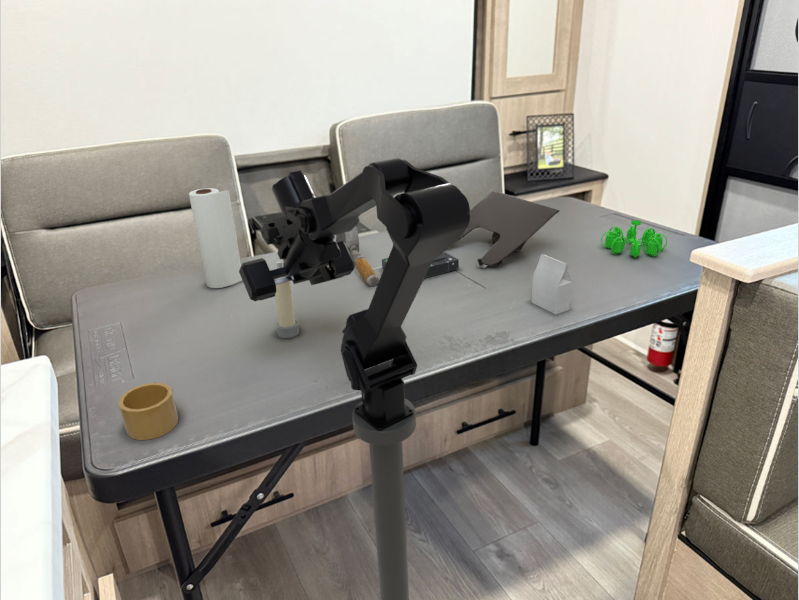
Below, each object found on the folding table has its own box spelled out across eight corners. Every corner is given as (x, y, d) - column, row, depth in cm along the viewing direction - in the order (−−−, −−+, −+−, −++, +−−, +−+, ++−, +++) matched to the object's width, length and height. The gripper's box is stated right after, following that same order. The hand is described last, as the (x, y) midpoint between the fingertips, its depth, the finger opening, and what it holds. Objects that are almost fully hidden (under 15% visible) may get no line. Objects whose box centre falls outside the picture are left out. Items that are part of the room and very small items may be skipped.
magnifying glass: (382, 256, 127) (340, 197, 144) (368, 258, 126) (327, 199, 143) (378, 303, 135) (338, 242, 152) (365, 306, 134) (327, 244, 151)
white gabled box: (555, 314, 116) (559, 266, 112) (531, 302, 122) (534, 256, 117) (569, 309, 118) (573, 262, 114) (545, 297, 123) (548, 252, 119)
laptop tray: (441, 264, 157) (427, 238, 152) (501, 211, 163) (491, 183, 157) (501, 293, 139) (488, 265, 134) (566, 232, 145) (557, 202, 140)
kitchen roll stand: (302, 333, 113) (294, 262, 107) (283, 340, 111) (274, 268, 105) (292, 326, 116) (283, 256, 110) (273, 332, 114) (263, 261, 108)
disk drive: (434, 257, 146) (381, 269, 140) (434, 246, 145) (380, 258, 139) (459, 270, 138) (403, 284, 132) (459, 259, 137) (403, 272, 131)
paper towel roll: (200, 286, 135) (182, 193, 126) (218, 276, 140) (202, 186, 131) (226, 291, 132) (209, 196, 123) (243, 281, 137) (228, 188, 128)
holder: (185, 426, 88) (178, 397, 86) (134, 447, 84) (126, 417, 82) (168, 404, 94) (162, 377, 91) (120, 423, 90) (112, 395, 88)
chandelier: (661, 240, 151) (665, 213, 148) (670, 262, 138) (675, 233, 135) (598, 237, 154) (601, 211, 151) (601, 258, 141) (604, 230, 138)
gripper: (341, 194, 101) (317, 239, 114) (233, 216, 91) (220, 262, 104) (368, 251, 98) (340, 290, 111) (261, 280, 89) (244, 319, 102)
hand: (287, 289), depth 107 cm, fingers open, 9 cm apart
